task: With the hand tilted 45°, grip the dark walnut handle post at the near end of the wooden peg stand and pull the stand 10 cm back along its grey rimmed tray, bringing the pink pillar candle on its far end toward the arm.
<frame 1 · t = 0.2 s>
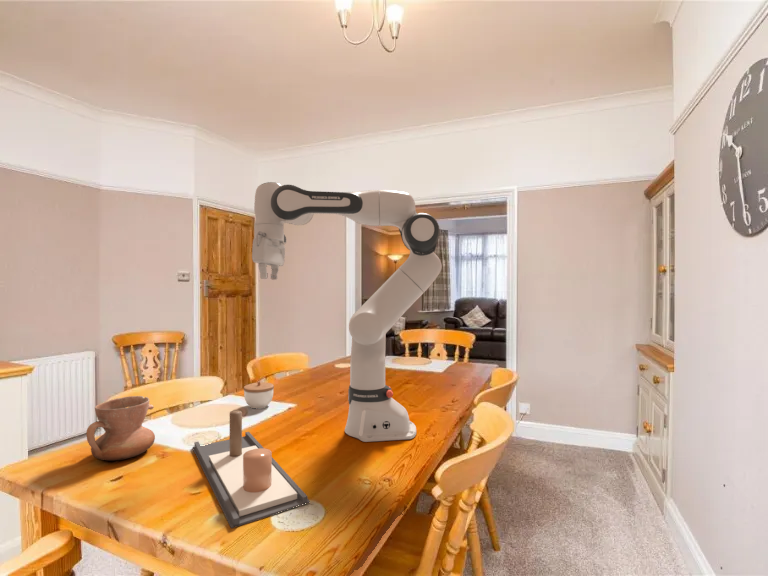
hand: (269, 279, 127), 48 cm above the table, tool pointing down, fingers open, 8 cm apart
wooden peg stand: (248, 452, 95), point 7 cm above the table, slide at 0.0 cm, touching pink pillar candle
lidded jar: (258, 407, 152), on the table
ceramic jug: (121, 455, 109), on the table
grey rimmed tray: (248, 480, 95), on the table
pink pillar candle: (257, 485, 90), point 2 cm above the table, touching wooden peg stand
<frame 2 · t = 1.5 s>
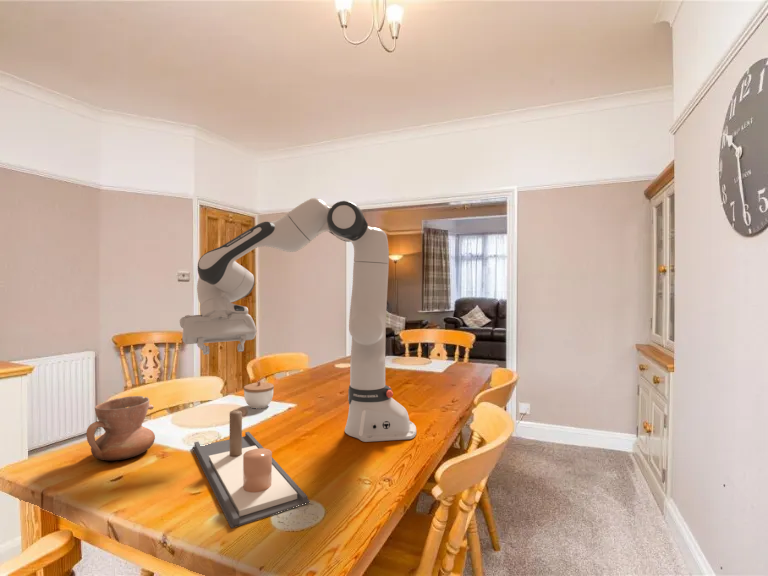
hand: (224, 351, 115), 27 cm above the table, tool tilted 45°, fingers open, 8 cm apart
nothing on the table moved.
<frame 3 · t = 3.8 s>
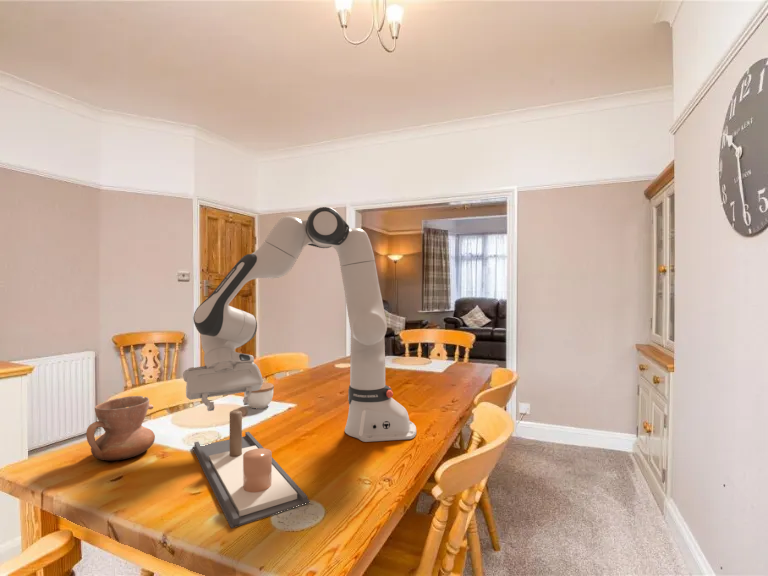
hand: (229, 406, 110), 13 cm above the table, tool tilted 45°, fingers open, 8 cm apart
nothing on the table moved.
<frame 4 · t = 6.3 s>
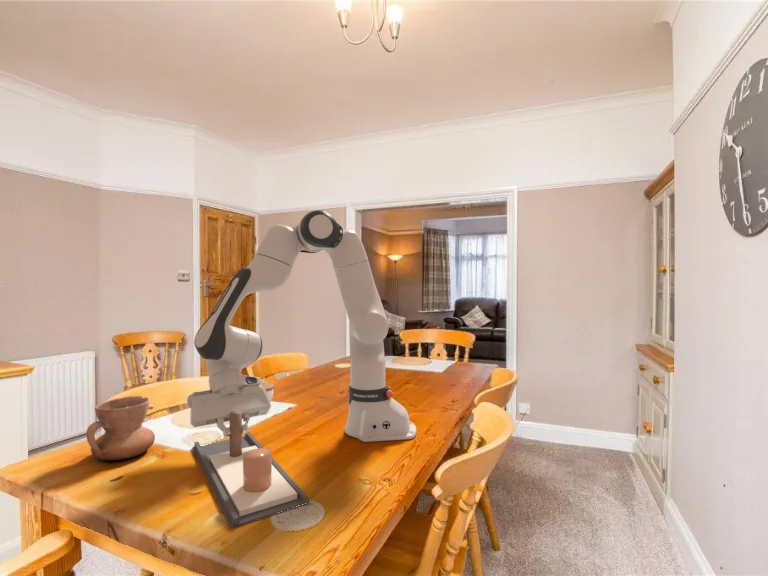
hand: (236, 434, 105), 7 cm above the table, tool tilted 45°, fingers closed on wooden peg stand, 3 cm apart
wooden peg stand: (248, 452, 95), point 7 cm above the table, slide at 0.0 cm, touching gripper, pink pillar candle
everything else where it was.
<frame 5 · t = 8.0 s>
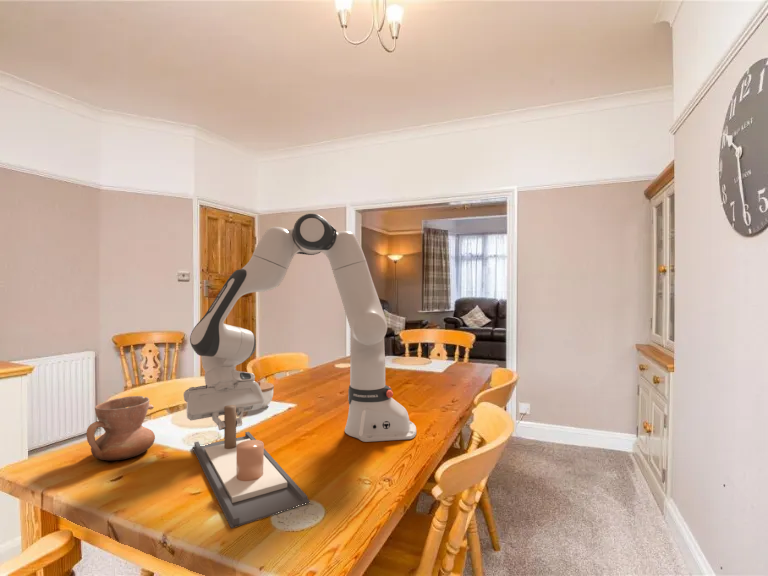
hand: (230, 427, 110), 7 cm above the table, tool tilted 45°, fingers closed on wooden peg stand, 3 cm apart
wooden peg stand: (242, 443, 100), point 7 cm above the table, slide at 5.8 cm, touching gripper, pink pillar candle
pink pillar candle: (250, 474, 94), point 2 cm above the table, touching wooden peg stand
everything else where it was.
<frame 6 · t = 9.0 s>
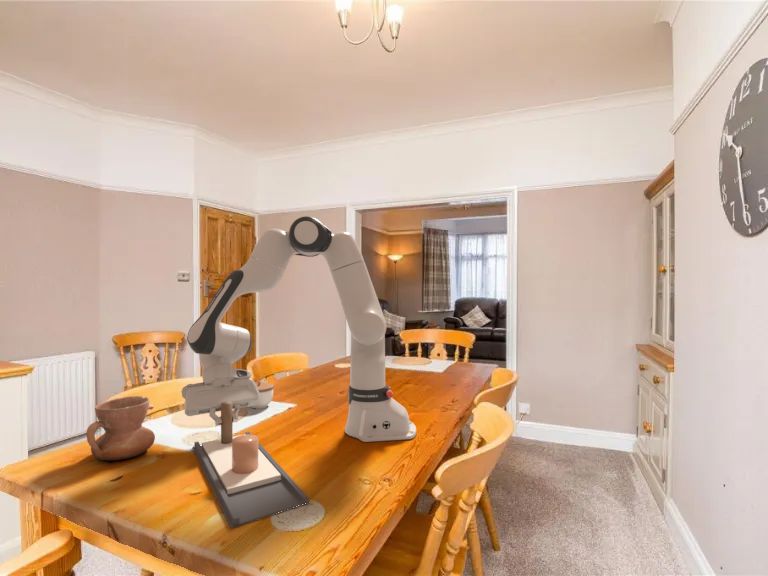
hand: (227, 422, 113), 7 cm above the table, tool tilted 45°, fingers closed on wooden peg stand, 3 cm apart
wooden peg stand: (237, 438, 104), point 7 cm above the table, slide at 9.9 cm, touching gripper, pink pillar candle
pink pillar candle: (245, 468, 98), point 2 cm above the table, touching wooden peg stand
everything else where it was.
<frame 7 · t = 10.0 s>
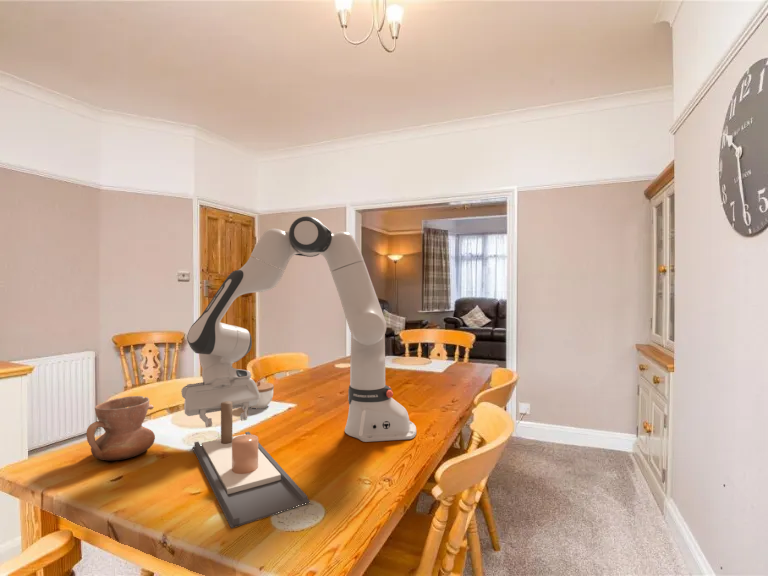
hand: (227, 422, 113), 7 cm above the table, tool tilted 45°, fingers open, 8 cm apart
wooden peg stand: (237, 438, 104), point 7 cm above the table, slide at 9.9 cm, touching pink pillar candle
everything else where it was.
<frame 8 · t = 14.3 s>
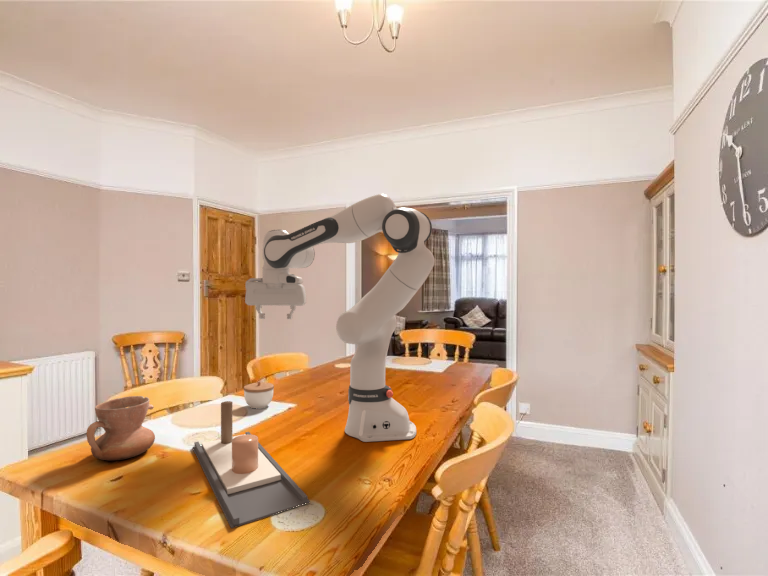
hand: (275, 318, 138), 34 cm above the table, tool pointing down, fingers open, 8 cm apart
nothing on the table moved.
at the end: wooden peg stand slide at 9.9 cm; pink pillar candle moved 9.9 cm from its start; pink pillar candle touching wooden peg stand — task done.
